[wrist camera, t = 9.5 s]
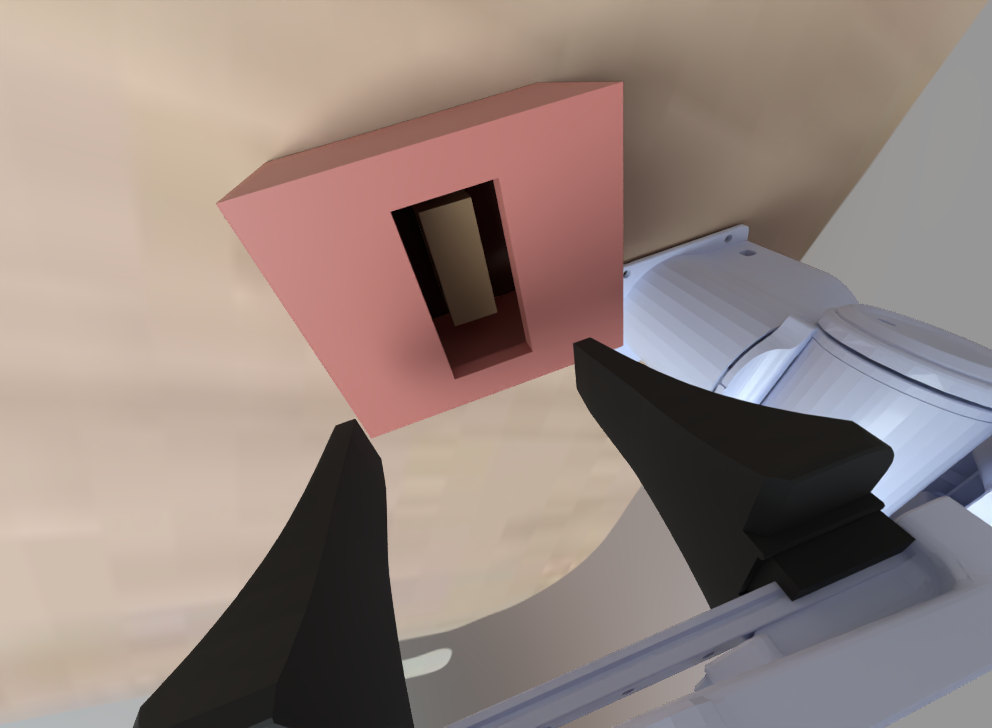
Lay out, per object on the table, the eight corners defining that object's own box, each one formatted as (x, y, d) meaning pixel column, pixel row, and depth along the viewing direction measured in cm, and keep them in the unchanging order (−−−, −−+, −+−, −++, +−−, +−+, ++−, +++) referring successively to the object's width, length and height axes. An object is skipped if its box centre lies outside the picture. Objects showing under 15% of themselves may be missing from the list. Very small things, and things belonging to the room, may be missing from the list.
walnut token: (446, 172, 18) (470, 197, 14) (471, 270, 21) (497, 312, 17) (405, 184, 18) (418, 213, 14) (437, 281, 21) (454, 326, 17)
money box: (537, 82, 17) (623, 81, 11) (561, 284, 23) (623, 345, 17) (265, 162, 16) (216, 203, 10) (368, 350, 22) (371, 438, 16)
